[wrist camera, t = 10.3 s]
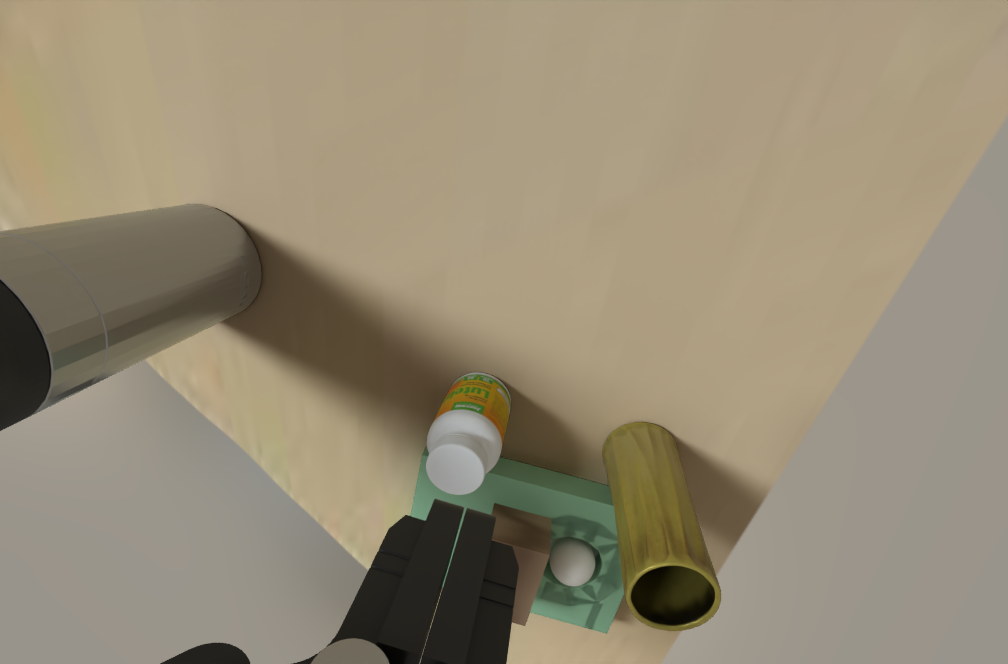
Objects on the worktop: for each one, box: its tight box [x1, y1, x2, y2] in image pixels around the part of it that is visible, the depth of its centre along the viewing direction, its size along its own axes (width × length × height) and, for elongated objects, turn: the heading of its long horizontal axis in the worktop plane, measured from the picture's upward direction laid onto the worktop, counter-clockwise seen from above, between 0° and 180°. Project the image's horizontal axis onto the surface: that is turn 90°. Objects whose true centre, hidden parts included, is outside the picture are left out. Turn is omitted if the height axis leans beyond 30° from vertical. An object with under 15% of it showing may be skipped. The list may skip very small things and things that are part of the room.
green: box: [411, 446, 624, 634], centre depth 44 cm, size 20×14×2 cm
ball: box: [550, 536, 595, 586], centre depth 43 cm, size 4×4×4 cm
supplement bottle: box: [426, 372, 511, 495], centre depth 36 cm, size 5×5×10 cm
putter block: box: [491, 503, 552, 626], centre depth 41 cm, size 5×8×4 cm, turn 167°
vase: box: [602, 422, 721, 631], centre depth 34 cm, size 6×6×14 cm
